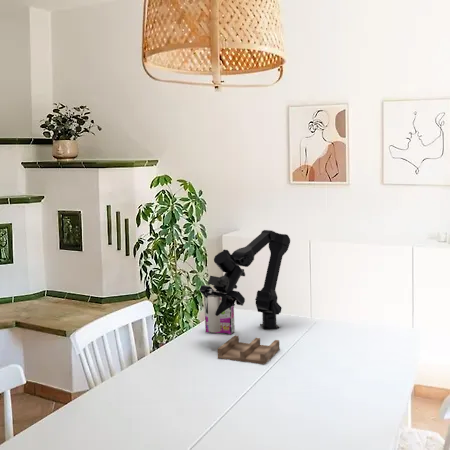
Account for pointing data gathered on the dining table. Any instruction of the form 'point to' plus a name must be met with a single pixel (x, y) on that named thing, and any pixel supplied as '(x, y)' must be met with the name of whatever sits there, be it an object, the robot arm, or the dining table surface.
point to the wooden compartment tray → (248, 350)
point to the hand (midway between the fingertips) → (211, 314)
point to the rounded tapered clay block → (213, 313)
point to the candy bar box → (223, 319)
